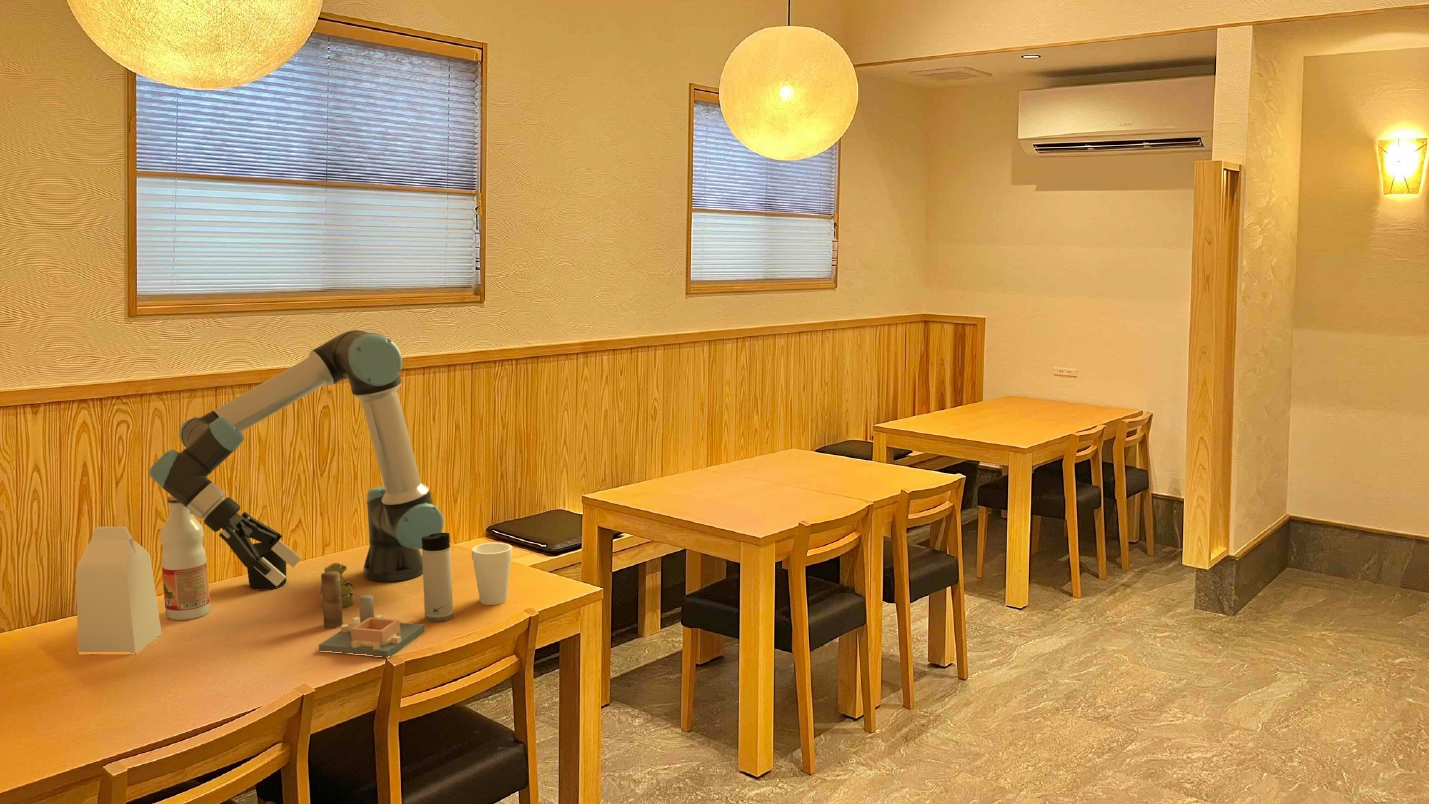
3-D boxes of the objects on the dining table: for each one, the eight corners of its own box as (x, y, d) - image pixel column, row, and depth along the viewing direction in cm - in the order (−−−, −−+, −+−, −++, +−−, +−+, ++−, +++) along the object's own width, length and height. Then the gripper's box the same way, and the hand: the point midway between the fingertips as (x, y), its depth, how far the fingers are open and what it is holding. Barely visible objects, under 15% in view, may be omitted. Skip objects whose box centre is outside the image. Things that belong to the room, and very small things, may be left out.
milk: (78, 654, 239) (67, 534, 235) (107, 635, 250) (96, 520, 246) (135, 654, 239) (125, 534, 235) (161, 635, 250) (152, 520, 246)
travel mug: (440, 624, 256) (436, 538, 253) (419, 619, 260) (415, 534, 256) (459, 616, 261) (456, 532, 258) (439, 611, 265) (435, 528, 262)
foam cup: (518, 594, 276) (516, 543, 274) (507, 607, 267) (506, 554, 265) (480, 593, 277) (478, 542, 275) (468, 606, 268) (466, 553, 266)
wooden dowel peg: (330, 621, 258) (327, 570, 256) (346, 623, 257) (343, 572, 255) (320, 627, 254) (317, 576, 252) (336, 629, 253) (333, 577, 251)
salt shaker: (359, 604, 270) (357, 563, 268) (330, 612, 265) (328, 570, 263) (344, 597, 275) (341, 557, 273) (315, 604, 270) (312, 564, 268)
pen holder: (278, 577, 291) (275, 539, 289) (294, 585, 284) (292, 546, 283) (241, 585, 284) (238, 546, 283) (257, 593, 278) (254, 554, 276)
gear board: (360, 625, 256) (358, 587, 254) (425, 631, 252) (423, 593, 251) (319, 652, 240) (316, 612, 239) (387, 658, 236) (385, 618, 235)
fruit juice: (199, 621, 259) (190, 501, 254) (158, 621, 259) (148, 501, 254) (217, 607, 268) (208, 491, 264) (177, 607, 268) (168, 491, 264)
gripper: (221, 506, 261) (292, 567, 265) (182, 535, 236) (262, 602, 240) (243, 483, 261) (314, 544, 264) (207, 510, 236) (286, 577, 240)
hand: (289, 572), depth 252 cm, fingers open, 13 cm apart
